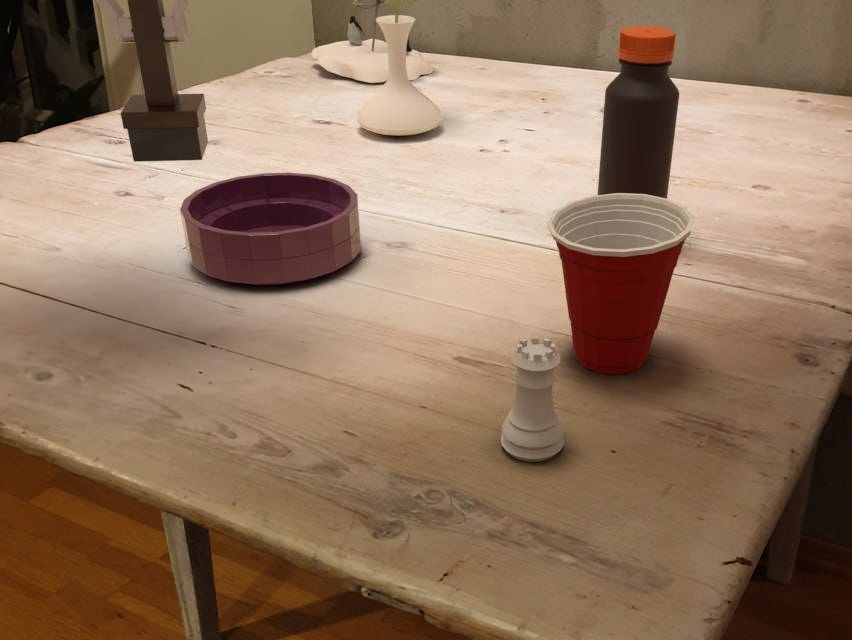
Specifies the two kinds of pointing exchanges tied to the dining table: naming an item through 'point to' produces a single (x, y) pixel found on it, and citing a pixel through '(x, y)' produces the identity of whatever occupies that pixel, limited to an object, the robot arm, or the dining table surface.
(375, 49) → the figurine
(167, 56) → the brush
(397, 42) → the flower in vase
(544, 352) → the rook chess piece
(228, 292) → the dining table surface
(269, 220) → the bowl
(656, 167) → the bottle
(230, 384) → the dining table surface
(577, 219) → the plastic cup
